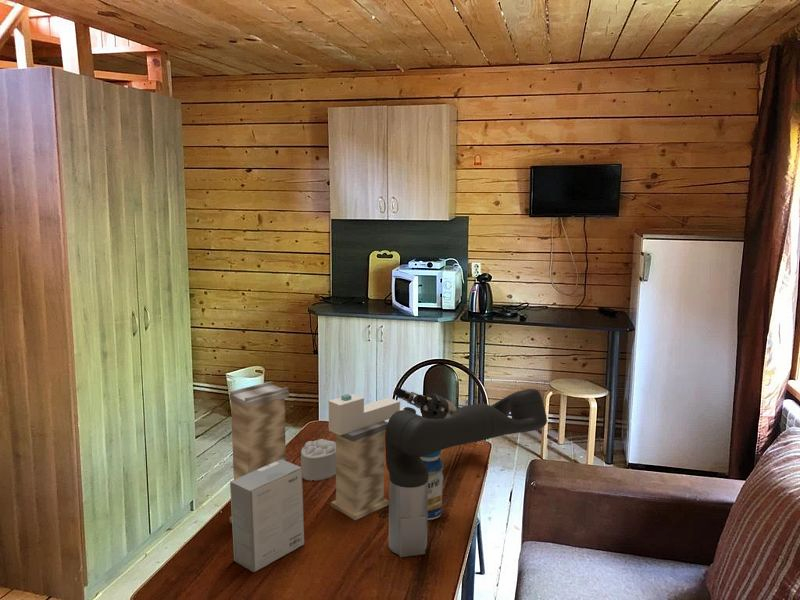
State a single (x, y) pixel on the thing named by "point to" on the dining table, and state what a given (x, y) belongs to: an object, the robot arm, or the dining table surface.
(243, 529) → the hard drive box
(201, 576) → the dining table surface
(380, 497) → the lower stand
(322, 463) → the lumpy-topped squat cylinder
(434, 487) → the beverage bottle
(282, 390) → the stand
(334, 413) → the breaker module
